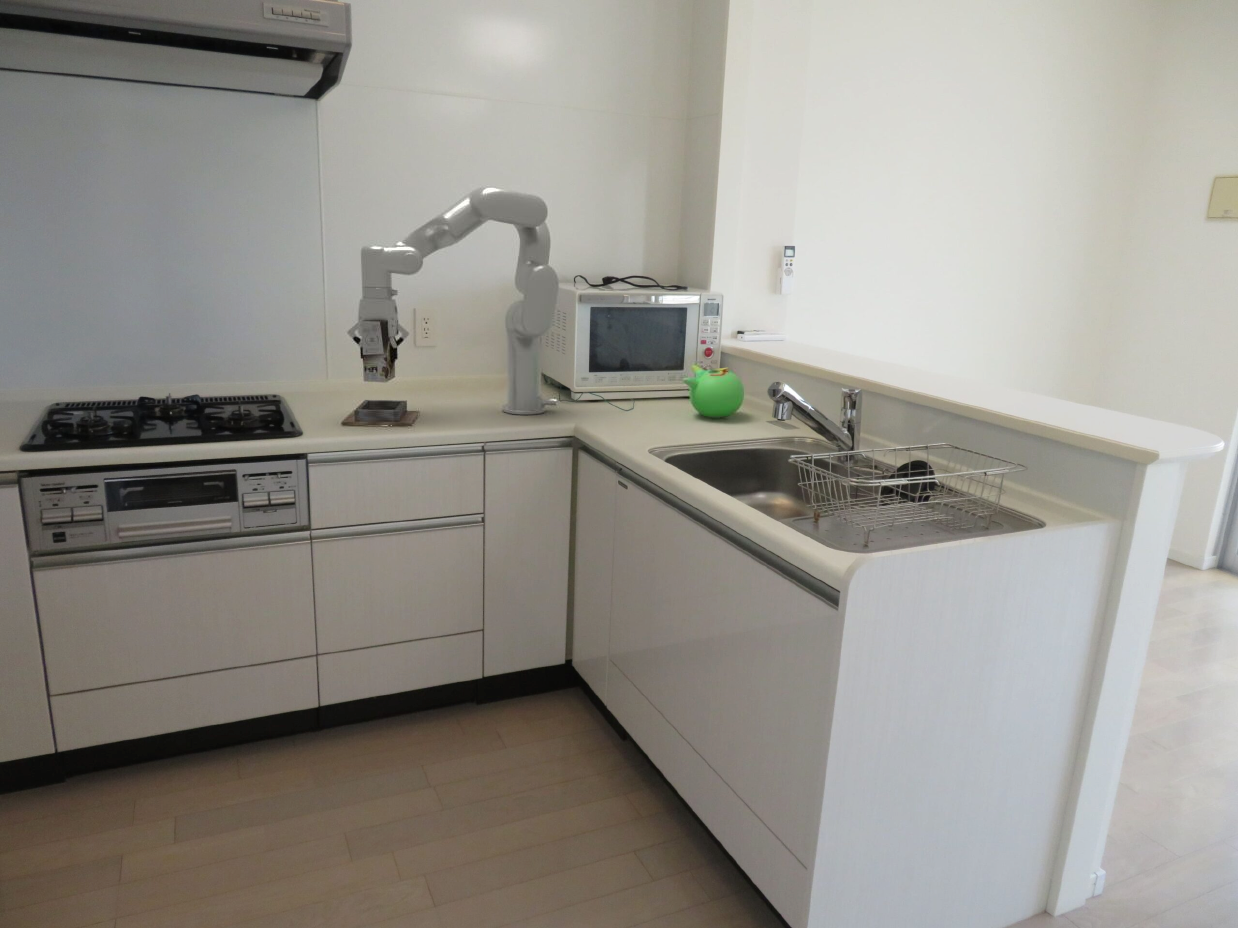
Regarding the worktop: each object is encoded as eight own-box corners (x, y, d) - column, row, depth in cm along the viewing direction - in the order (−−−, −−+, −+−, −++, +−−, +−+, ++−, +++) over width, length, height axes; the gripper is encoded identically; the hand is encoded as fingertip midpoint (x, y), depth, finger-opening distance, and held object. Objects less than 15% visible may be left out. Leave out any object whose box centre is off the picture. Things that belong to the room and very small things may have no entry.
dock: (419, 414, 252) (419, 400, 251) (411, 426, 237) (410, 411, 236) (354, 413, 251) (353, 399, 250) (341, 425, 235) (340, 410, 234)
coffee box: (387, 383, 237) (385, 321, 232) (362, 382, 237) (360, 320, 232) (396, 377, 245) (394, 317, 241) (372, 376, 245) (370, 316, 241)
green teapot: (740, 425, 252) (743, 373, 248) (680, 420, 255) (682, 369, 251) (744, 412, 269) (747, 364, 265) (688, 408, 272) (690, 360, 268)
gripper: (412, 294, 240) (414, 360, 244) (346, 292, 238) (349, 359, 243) (408, 296, 232) (410, 364, 237) (340, 294, 231) (343, 363, 235)
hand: (379, 361), depth 240 cm, fingers closed on coffee box, 6 cm apart
